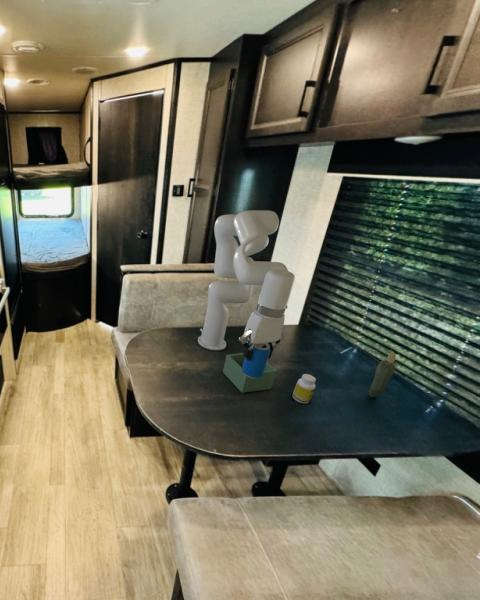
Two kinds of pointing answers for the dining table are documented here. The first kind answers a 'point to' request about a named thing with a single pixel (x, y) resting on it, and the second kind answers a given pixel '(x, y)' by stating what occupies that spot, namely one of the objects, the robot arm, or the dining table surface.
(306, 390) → the supplement bottle
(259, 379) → the bin
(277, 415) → the dining table surface
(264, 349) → the beverage can
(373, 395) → the olive brown bottle
